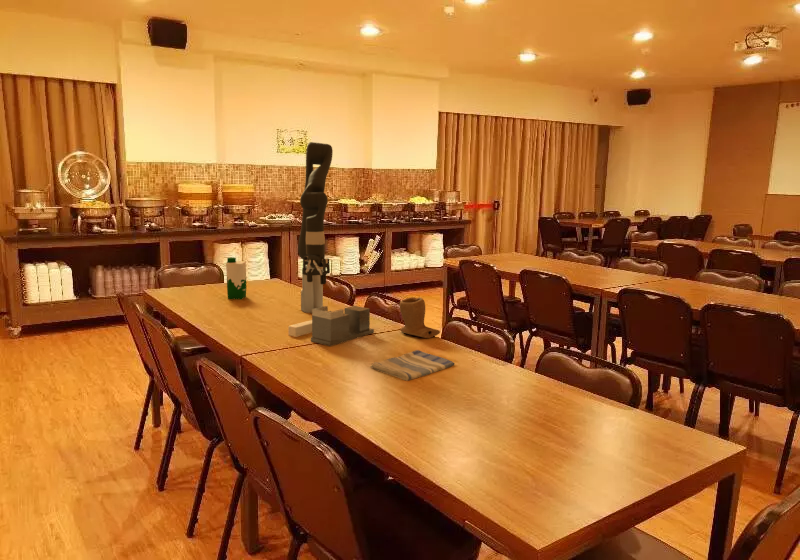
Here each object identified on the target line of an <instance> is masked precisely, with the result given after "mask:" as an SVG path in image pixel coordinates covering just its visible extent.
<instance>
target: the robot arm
mask: <svg viewBox="0 0 800 560" xmlns="http://www.w3.org/2000/svg"><path fill="white" fill-rule="evenodd" d="M333 151H334V150H333V146H332V145H331V144H328V143H321V142H313V141H310V142H308V144H307V146H306V152H305V183H304V190H303V192H302V194H301V196H300V200H299V203H300V207H301V208H302V215H301V216H302V217H301V227H300V232H299V238H298V244H297V250H298V251H297V252H298V256H299V257H300V259H301V260H302V268H301V275H302V276H301V277H302V281H301V282H302V283H301V284H302V288H301V290H300V311H302V312H304V313H309V314H312V309H314V308H318V307H323V306H324V292H323V291H324V289H323V288H324V285H326V284H327V275H329V274H330V273H331V269H330V259H329V258H327V257H326V258H325V254H326V238H325V221H324V220H325V214H326V209H327V207H328V202H329V201H328V196H327V194H326V193H325V189H326V182H327V177H328V175H329V174H328V173H329V171H330V168H331V164H332V160H333ZM314 165H317V166H318V167H316V168H314Z"/></svg>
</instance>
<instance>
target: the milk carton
mask: <svg viewBox="0 0 800 560" xmlns="http://www.w3.org/2000/svg"><path fill="white" fill-rule="evenodd" d="M226 260H227V262H226V263H225V269H226V289H227V290H226V291H227V300H243V299H245V298H246V296H247V261H244V260H243V261H241V260H237V258H236V257H233V256H232V257H227V259H226Z"/></svg>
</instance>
